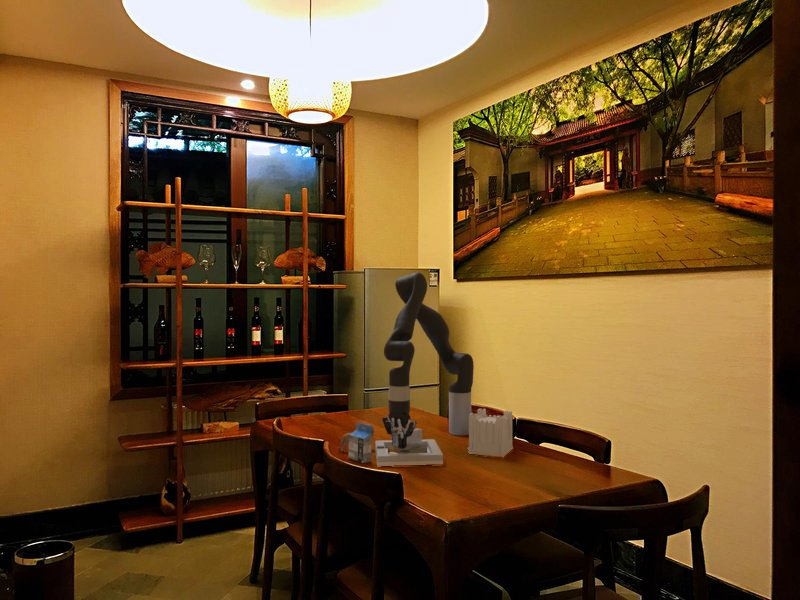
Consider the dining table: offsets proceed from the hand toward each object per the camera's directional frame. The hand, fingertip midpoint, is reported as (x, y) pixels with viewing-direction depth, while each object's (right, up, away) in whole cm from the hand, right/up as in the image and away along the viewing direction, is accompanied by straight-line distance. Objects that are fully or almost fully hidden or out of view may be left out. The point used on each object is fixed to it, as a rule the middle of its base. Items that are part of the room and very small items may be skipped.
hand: (399, 447), depth 209 cm
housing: (+3, -4, +2) cm, 6 cm away
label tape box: (-14, -4, -1) cm, 14 cm away
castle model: (+32, -4, +10) cm, 34 cm away
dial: (+3, -2, +2) cm, 4 cm away
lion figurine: (-16, -4, +12) cm, 20 cm away
